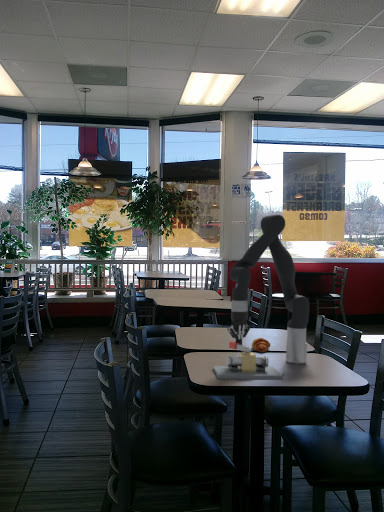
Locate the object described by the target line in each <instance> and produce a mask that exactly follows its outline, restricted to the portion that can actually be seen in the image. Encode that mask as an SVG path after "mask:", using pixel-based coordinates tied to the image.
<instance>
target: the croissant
mask: <svg viewBox="0 0 384 512" xmlns="http://www.w3.org/2000/svg"><path fill="white" fill-rule="evenodd" d="M270 347H271V343H270V341H269V340H268V339H265V338H263V337H258V338H255V339H253V340H252V342H251V349H253V350H254V351H257V352H260V353H264V352H265V353H266V352H267V351H269V349H270Z"/></svg>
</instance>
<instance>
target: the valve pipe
mask: <svg viewBox="0 0 384 512" xmlns="http://www.w3.org/2000/svg"><path fill="white" fill-rule="evenodd" d="M238 355H239V356H230V355H227V356H226V366H227V367H229V369H230V371H231V372H238V366H239V369H240V371H241V372H245V373H255V368H256V370H257V371H258V372H265V367H269V357H268V356H266V355H265V356H256V354H255V353H254V352H252V351H251V353H250V354H247V353H245V352H244V351H241V352H239V354H238Z"/></svg>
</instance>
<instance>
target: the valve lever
mask: <svg viewBox="0 0 384 512" xmlns="http://www.w3.org/2000/svg"><path fill="white" fill-rule="evenodd" d="M228 343H229V344H228V346H229V347H228V348H229V349H231V350H238V351H241V352H245V353H247V354H250V353H251V352H252V348H250V347H249V346H247V345H243V344H242V345H240V344H239V343H237V342H236V341H233V340H232V341H229V342H228Z"/></svg>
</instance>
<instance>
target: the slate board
mask: <svg viewBox="0 0 384 512" xmlns="http://www.w3.org/2000/svg"><path fill="white" fill-rule="evenodd" d="M212 370H213V371H214V372H213V373H214V374H215V375H216V376H217V378H218V379H219V380H222V379H223V380H226V379H227V380H237V379H238V380H240V379H241V380H283V379H284V376H283V374H282V373H281V372H280V371H279V370H278V369H276V368H275V367H274V366H268V367H265V372H258V371H257V370H256V368H255V373H245V372H241V371H240V369H239V366H238V372H231V371H230V369H229V367H227V365H226V366H225V365H214V366H212Z"/></svg>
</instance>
